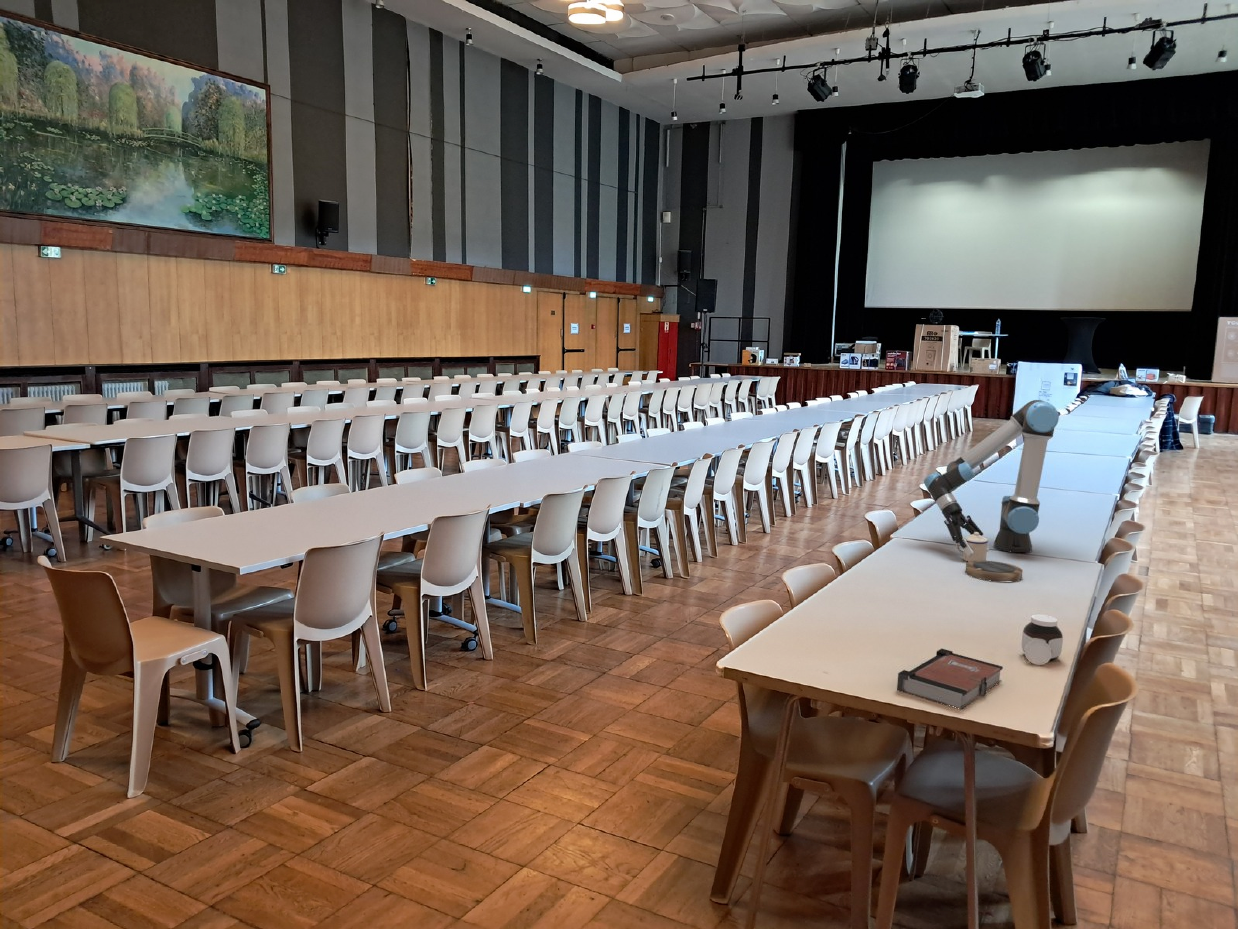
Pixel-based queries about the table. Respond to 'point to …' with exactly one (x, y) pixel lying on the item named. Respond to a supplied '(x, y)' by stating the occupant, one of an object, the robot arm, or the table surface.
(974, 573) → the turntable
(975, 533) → the teacup with lid
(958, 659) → the book
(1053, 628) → the spread jar
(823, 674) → the table surface
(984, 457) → the robot arm
